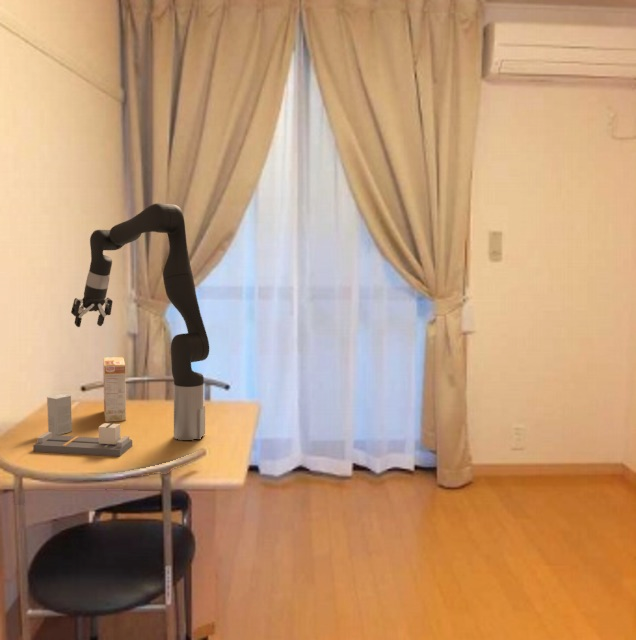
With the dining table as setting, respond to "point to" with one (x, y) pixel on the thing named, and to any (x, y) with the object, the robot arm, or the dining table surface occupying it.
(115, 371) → the coffeecake box
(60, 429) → the skincare box
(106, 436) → the fader knob
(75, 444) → the fader board
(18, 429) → the dining table surface
